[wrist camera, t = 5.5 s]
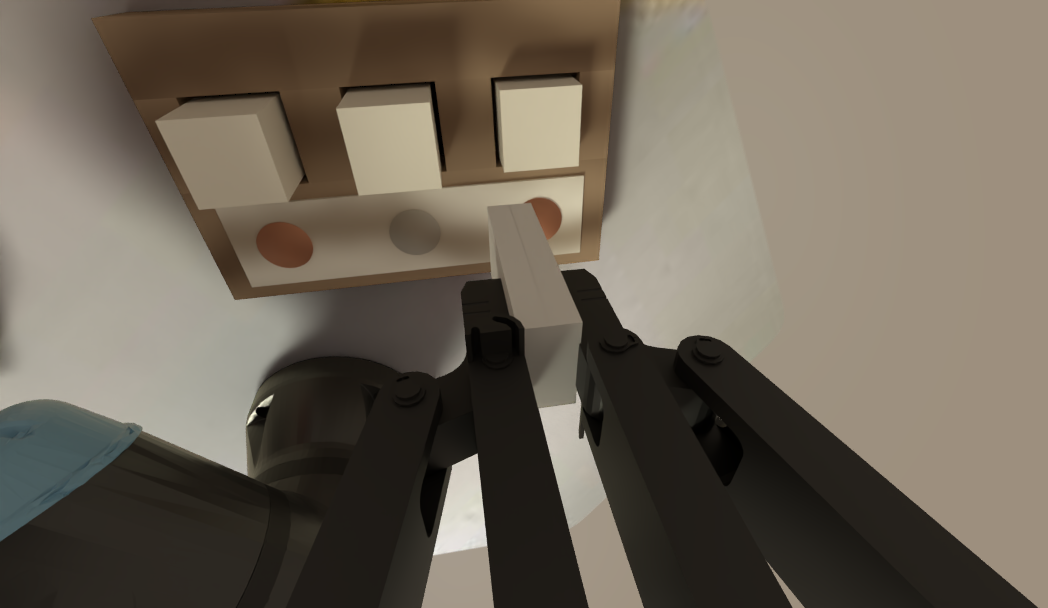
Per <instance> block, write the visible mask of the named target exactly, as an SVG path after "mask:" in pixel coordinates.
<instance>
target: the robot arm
mask: <svg viewBox="0 0 1048 608" xmlns="http://www.w3.org/2000/svg"><path fill="white" fill-rule="evenodd" d="M487 213H488V230H489V246H490V263H491V276H492V279H488V280H478V281H468V282H466V284H465V286H464V288H463V289H462V291H461V299H462V309H463V318H464V328H465V341H466V350H467V352H466V357H465V359H464V361H463V362H462V364H461V365H460V366H459V367H458V368H456V369H455V370H454V371H452V372H450V373H448V374H446V375H444V376H442V377H439V378H436V379H435V378H433V377H432V376H430V375H429V374H427V373H422V372H417V371H416V372H406V373H403V374H400V373H398V372H396V371H394V370H393V369H390V368H388V367H386V366H383V365H381V364H378V363H375V362H371V361H367V360H363V359H357V358H348V357H325V358H316V359H311V360H306V361H302V362H299V363H296V364H293V365H290V366H288V367H286V368H284V369H282V370H280V371H278V372H277V373H275V374H274V375H272V376H271V377H270V378H269V379H267V380H266V381H265V382H264V383H263V385H262V386H261V387H260V389H259V390H258V392H257V394H256V396H255V399H254V401H253V404H252V406H251V409H250V411H249V414H248V417H247V422H246V446H247V471H248V476H246V475H244V474H241V473H239V472H237V471H234V470H232V469H230V468H227V467H225V466H223V465H220V464H218V463H216V462H213V461H211V460H209V459H206V458H204V457H202V456H199V455H197V454H195V453H192V452H190V451H188V450H185V449H183V448H181V447H178V446H176V445H174V444H171V443H169V442H167V441H164V440H162V439H160V438H157V437H155V436H153V435H150V434H148V433H146V432H143V431H142V427H141V426H139V425H137V424H135V423H121V422H118V421H116V420H113V419H110V418H107V417H105V416H102V415H99V414H97V413H94V412H91V411H88V410H86V409H83V408H80V407H78V406H75V405H72V404H69V403H67V402H62V401H58V400H49V399H43V400H32V401H26V402H23V403H19V404H15V405H13V406H10V407H8V408H5V409H3V410H1V411H0V608H421V606H422V602H423V597H424V593H425V588H426V583H427V579H428V574H429V570H430V565H431V561H432V556H433V552H434V547H435V543H436V538H437V534H438V529H439V525H440V520H441V516H442V511H443V507H444V502H445V497H446V493H447V488H448V484H449V479H450V475H451V470H452V465H454V464H456V463H458V462H460V461H462V460H464V459H466V458H468V457H471V456H473V455H475V454H477V453H478V462H479V471H480V480H481V490H482V499H483V508H484V518H485V527H486V536H487V546H488V555H489V564H490V573H491V583H492V592H493V601H494V608H589V607H588V603H587V599H586V595H585V591H584V587H583V583H582V579H581V576H580V571H579V567H578V564H577V559H576V555H575V551H574V547H573V544H572V540H571V536H570V532H569V528H568V524H567V520H566V516H565V512H564V508H563V504H562V500H561V496H560V492H559V488H558V484H557V480H556V476H555V473H554V469H553V465H552V461H551V457H550V453H549V449H548V445H547V441H546V437H545V433H544V429H543V425H542V421H541V417H540V413H539V409H538V408H544V407H551V406H558V405H565V404H573V403H576V392H577V391H578V394H579V397H580V400H581V413H580V423H579V439H582V438H583V437H584V430H585V433H586V436H587V439H588V442H589V445H590V448H591V451H592V454H593V457H594V460H595V463H596V466H597V469H598V472H599V475H600V478H601V481H602V483H603V486H604V489H605V492H606V495H607V498H608V501H609V504H610V507H611V510H612V513H613V516H614V519H615V522H616V525H617V528H618V531H619V534H620V537H621V540H622V543H623V546H624V549H625V552H626V555H627V558H628V561H629V564H630V567H631V570H632V573H633V576H634V579H635V582H636V585H637V588H638V591H639V594H640V597H641V600H642V603H643V606H644V608H792V606H791V604H790V602H789V601H788V599H787V597H786V595H785V594H784V592H783V590H782V588H781V586H780V585H779V583H778V581H777V579H776V577H775V576H774V574H773V572H772V570H771V569H770V567H769V565H768V563H769V564H770V566H771V567H772V568H773V569H774V570H775V572H776V573H777V574H778V575H779V577H780V578H781V579H782V580H783V581H784V583H785V584H786V585H787V586H788V588H789V589H790V590H791V591H792V593H793V594H794V595H795V596H796V597H797V599H798V600H799V601H800V602H801V604H802V605H803V606H804V607H805V608H1038V607H1037V606H1035V605H1034V604H1033V603H1032V602H1031V601H1030V600H1028V599H1027V598H1026V597H1025V596H1024V595H1023V594H1021V593H1020V592H1019V591H1018V590H1017V589H1015V588H1014V587H1013V586H1012V585H1011V584H1010V583H1008V582H1007V581H1006V580H1005V579H1003V578H1002V577H1001V576H1000V575H999V574H998V573H997V572H995V571H994V570H993V569H992V568H991V567H989V566H988V565H987V564H986V563H985V562H983V561H982V560H981V559H980V558H979V557H978V556H977V555H975V554H974V553H973V552H972V551H971V550H969V549H968V548H967V547H966V546H965V545H963V544H962V543H961V542H960V541H959V540H958V539H956V538H955V537H954V536H953V535H951V533H949V532H948V531H947V530H946V529H944V528H943V527H942V526H941V525H940V524H939V523H937V522H936V521H935V520H934V519H933V518H932V517H930V516H929V515H928V514H927V513H926V512H924V511H923V510H922V509H921V508H920V507H919V506H918V505H916V504H915V503H914V502H913V501H911V500H910V499H909V498H908V497H907V496H906V495H904V494H903V493H902V492H901V491H900V490H899V489H897V488H896V487H895V486H894V485H893V484H892V483H890V482H889V481H888V480H887V479H886V478H884V477H883V476H882V475H881V474H880V473H879V472H877V471H876V470H875V469H874V468H873V467H871V466H870V465H869V464H868V463H867V462H866V461H864V460H863V459H862V458H861V457H860V456H859V455H857V454H856V453H855V452H854V451H852V450H851V449H850V448H849V447H848V446H847V445H846V444H844V443H843V442H842V441H841V440H840V439H838V438H837V437H836V436H835V435H834V434H833V433H831V432H830V431H829V430H828V429H827V428H825V427H824V426H823V425H822V424H821V423H820V422H818V421H817V420H816V419H815V418H814V417H812V416H811V415H810V414H809V413H808V412H807V411H805V410H804V409H803V408H802V407H801V406H800V405H798V404H797V403H796V402H795V401H793V400H792V399H791V398H790V397H789V396H788V395H787V394H785V393H784V392H783V391H782V390H781V389H779V388H778V387H777V386H776V385H775V384H773V383H772V382H771V381H770V380H769V379H768V378H766V377H765V376H764V375H763V374H762V373H761V372H759V371H758V370H757V369H756V368H755V367H753V366H752V365H751V364H750V363H749V362H748V361H746V360H745V359H744V358H743V357H742V356H741V355H739V354H738V353H737V352H736V351H735V350H733V349H732V348H731V347H730V346H728V345H727V344H725V343H724V342H722V341H721V340H718V339H715V338H712V337H709V336H701V335H697V336H690V337H687V338H685V339H684V340H682V341H681V342H680V344H679V346H678V348H677V350H674V349H666V348H657V347H652V346H647V345H644V344H643V342H642V340H641V339H640V338H639V337H638V336H637V335H636V334H635V333H633V332H631V331H629V330H628V329H624V328H623V327H622V325H621V323H620V321H619V319H618V318H617V316H616V314H615V312H614V310H613V308H612V306H611V305H610V303H609V301H608V299H606V295H605V293H604V292H603V290H602V288H601V286H600V284H599V282H598V280H597V279H596V277H595V276H593V275H592V274H591V273H589V272H588V271H587V270H585V269H577V270H567V271H560V269H559V267H558V264H557V262H556V260H555V257H554V255H553V253H552V250H551V248H550V246H549V243H548V241H547V239H546V237H545V234H544V232H543V230H542V227H541V225H540V223H539V220H538V218H537V216H536V213H535V211H534V209H533V207H532V204H531V203H523V204H510V205H498V206H487ZM766 561H767V562H768V563H767V562H766Z"/></svg>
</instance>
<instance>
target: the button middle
mask: <svg viewBox="0 0 1048 608" xmlns="http://www.w3.org/2000/svg"><path fill="white" fill-rule="evenodd" d="M336 111H337V114H338V118H339V122H340V126H341V130H342V133H343V137H344V141H345V145H346V149H347V153H348V156H349V160H350V164H351V168H352V172H353V176H354V179H355V183H356V187H357V191H358V195H359V196H361V195H373V194H384V193H395V192H407V191H418V190H429V189H441V188H442V178H441V158H440V151H439V144H438V136H437V129H436V122H435V115H434V108H433V101H432V93H431V86H430V83H420V84H404V85H388V86H373V87H357V88H349V89H348V91H347V92H346V94H345V95H344V97H343V99H342V100H341V102H340V103H339V105H338V106H337V108H336Z"/></svg>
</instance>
